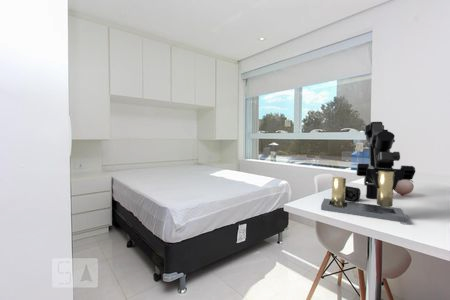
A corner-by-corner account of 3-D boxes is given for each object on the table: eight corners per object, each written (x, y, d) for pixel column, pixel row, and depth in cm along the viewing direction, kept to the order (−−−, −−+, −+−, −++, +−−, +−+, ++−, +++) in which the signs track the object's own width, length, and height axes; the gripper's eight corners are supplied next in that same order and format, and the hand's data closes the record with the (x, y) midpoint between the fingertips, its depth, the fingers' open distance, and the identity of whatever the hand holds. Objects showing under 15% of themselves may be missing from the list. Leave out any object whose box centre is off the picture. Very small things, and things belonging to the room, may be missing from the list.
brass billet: (374, 204, 87) (376, 171, 86) (378, 202, 90) (380, 170, 89) (390, 207, 83) (392, 173, 82) (393, 204, 86) (395, 171, 86)
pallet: (320, 211, 92) (321, 205, 92) (324, 203, 103) (324, 198, 103) (406, 224, 79) (407, 217, 78) (400, 214, 89) (400, 208, 89)
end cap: (360, 201, 108) (361, 187, 108) (354, 203, 104) (355, 189, 103) (339, 196, 116) (339, 183, 115) (332, 199, 111) (333, 185, 111)
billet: (331, 209, 94) (332, 178, 93) (331, 205, 98) (332, 176, 97) (344, 211, 91) (345, 179, 90) (344, 207, 96) (345, 177, 95)
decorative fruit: (398, 197, 115) (398, 178, 115) (388, 193, 123) (389, 175, 123) (418, 198, 114) (419, 178, 113) (407, 194, 122) (408, 176, 122)
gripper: (358, 144, 93) (359, 174, 84) (415, 145, 84) (423, 178, 75) (356, 160, 100) (356, 190, 91) (408, 163, 92) (415, 196, 83)
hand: (385, 188), depth 85 cm, fingers closed on brass billet, 5 cm apart
